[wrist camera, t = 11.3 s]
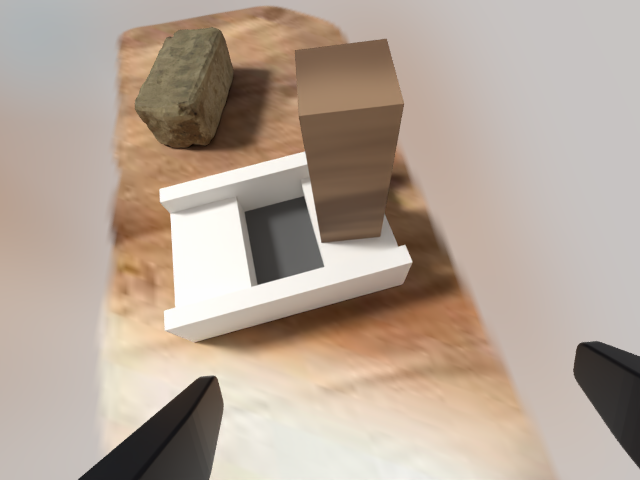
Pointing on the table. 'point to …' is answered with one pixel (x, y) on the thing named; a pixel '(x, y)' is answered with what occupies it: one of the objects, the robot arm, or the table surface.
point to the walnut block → (349, 134)
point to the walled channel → (264, 251)
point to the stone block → (187, 88)
